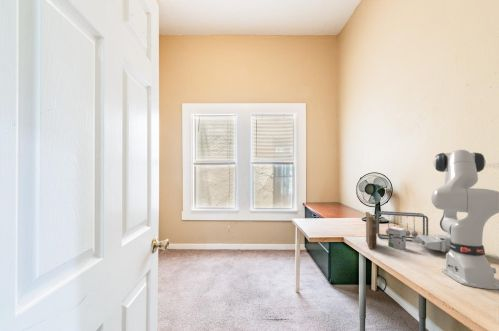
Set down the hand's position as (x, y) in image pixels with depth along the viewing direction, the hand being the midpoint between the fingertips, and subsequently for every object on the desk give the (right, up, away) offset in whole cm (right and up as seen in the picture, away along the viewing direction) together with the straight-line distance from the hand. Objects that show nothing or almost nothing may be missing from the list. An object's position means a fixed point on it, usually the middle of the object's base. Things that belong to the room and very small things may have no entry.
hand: (412, 240), depth 161 cm
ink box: (-8, -5, +3) cm, 10 cm away
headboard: (-22, -5, +7) cm, 23 cm away
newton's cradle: (+6, -6, +24) cm, 25 cm away
